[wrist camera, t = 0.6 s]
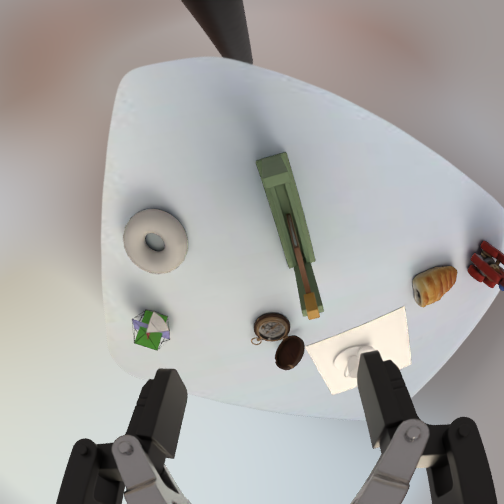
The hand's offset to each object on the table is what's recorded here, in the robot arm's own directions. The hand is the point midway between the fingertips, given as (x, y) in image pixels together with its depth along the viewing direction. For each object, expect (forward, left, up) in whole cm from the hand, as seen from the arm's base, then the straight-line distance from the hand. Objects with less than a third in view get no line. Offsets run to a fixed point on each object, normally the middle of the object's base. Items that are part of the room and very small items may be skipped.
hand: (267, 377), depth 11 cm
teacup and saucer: (+38, +11, -29) cm, 49 cm away
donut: (+2, -17, -29) cm, 33 cm away
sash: (+7, +2, -27) cm, 28 cm away
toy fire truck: (+23, +38, -29) cm, 53 cm away
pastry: (+23, +24, -29) cm, 44 cm away
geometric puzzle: (+16, -25, -29) cm, 41 cm away
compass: (+24, -6, -29) cm, 38 cm away
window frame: (+4, +2, -29) cm, 29 cm away
